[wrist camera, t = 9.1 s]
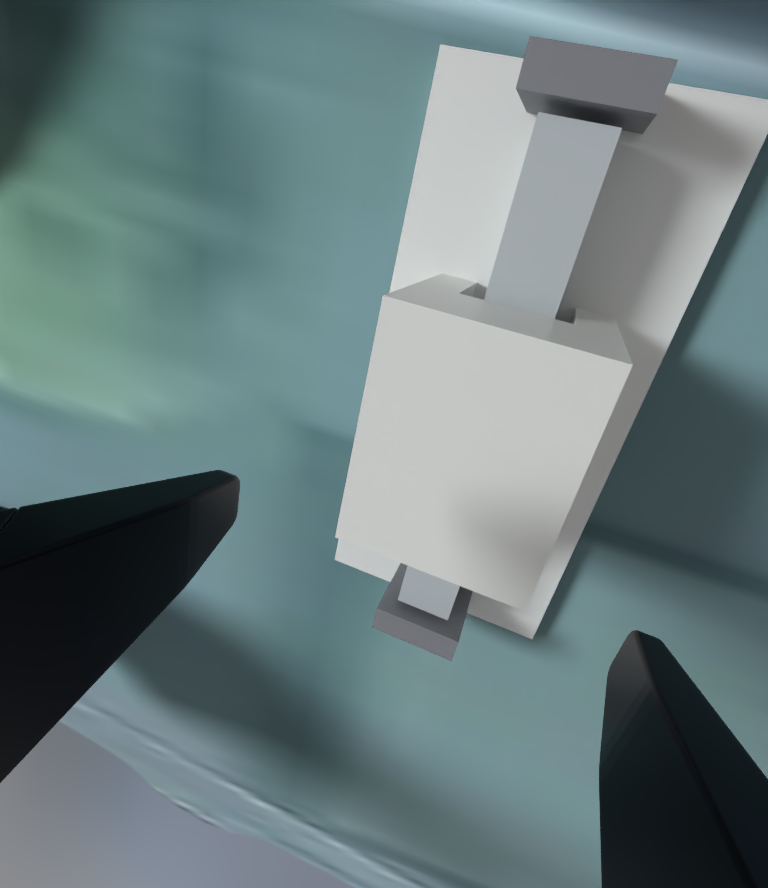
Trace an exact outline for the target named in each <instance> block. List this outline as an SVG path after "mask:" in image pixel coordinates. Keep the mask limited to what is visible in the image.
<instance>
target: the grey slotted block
mask: <svg viewBox="0 0 768 888" xmlns="http://www.w3.org/2000/svg"><path fill="white" fill-rule="evenodd" d="M476 285H477V282H474V281H470V280H466V279H462V278H458V277H455V276H451V275H447V274H443V273H441V274H439V275H436V276H433V277H431V278H428V279H425V280H423V281H420V282H417V283H415V284H412V285H409V286H407V287H404V288H401V289H399V290H396V291H393V292H391V293H388V294H385V295H383V298H382V303H381V308H380V313H379V318H378V323H377V328H376V333H375V339H374V344H373V349H372V354H371V359H370V364H369V369H368V374H367V379H366V384H365V389H364V394H363V399H362V404H361V409H360V414H359V419H358V424H357V429H356V434H355V440H354V445H353V450H352V455H351V460H350V465H349V470H348V475H347V480H346V485H345V490H344V495H343V500H342V505H341V510H340V515H339V520H338V525H337V530H336V535H335V537H336V538H339V539H341V540H344V541H346V542H349V543H351V544H354V545H356V546H359V547H362V548H364V549H367V550H369V551H372V552H374V553H377V554H379V555H382V556H385V557H387V558H390V559H392V560H395V561H397V562H400V563H402V564H405V565H408V566H410V567H413V568H415V569H418V570H420V571H423V572H425V573H428V574H431V575H433V576H436V577H438V578H441V579H443V580H446V581H448V582H451V583H454V584H456V585H459V586H461V587H464V588H466V589H469V590H471V591H474V592H476V593H479V594H482V595H484V596H487V597H489V598H492V599H494V600H497V601H499V602H502V603H505V604H507V605H510V606H512V607H515V608H517V609H520V610H522V611H525V610H526V608H527V606H528V604H529V601H530V599H531V597H532V594H533V592H534V590H535V588H536V585H537V583H538V581H539V578H540V576H541V574H542V572H543V569H544V567H545V565H546V562H547V560H548V558H549V556H550V553H551V551H552V549H553V546H554V544H555V542H556V539H557V537H558V535H559V533H560V530H561V528H562V526H563V523H564V521H565V519H566V517H567V514H568V512H569V510H570V507H571V505H572V503H573V501H574V498H575V496H576V494H577V491H578V489H579V487H580V485H581V482H582V480H583V478H584V475H585V473H586V471H587V469H588V466H589V464H590V462H591V459H592V457H593V455H594V453H595V450H596V448H597V446H598V443H599V441H600V439H601V437H602V434H603V432H604V430H605V427H606V425H607V423H608V421H609V418H610V416H611V414H612V411H613V409H614V407H615V405H616V402H617V400H618V398H619V395H620V393H621V391H622V389H623V386H624V384H625V382H626V379H627V377H628V375H629V373H630V370H631V368H632V366H633V364H632V361H631V359H630V356H629V354H628V351H627V349H626V346H625V343H624V341H623V338H622V336H621V333H620V331H619V328H618V325H617V323H616V320H615V318H611V317H607V316H603V315H599V314H596V313H592V312H588V311H584V310H580V309H577V308H576V309H575V312H574V314H573V317H572V320H571V323H567V322H564V321H560V320H556V319H552V318H549V317H545V316H541V315H538V314H534V313H530V312H526V311H523V310H519V309H515V308H512V307H508V306H504V305H500V304H497V303H493V302H489V301H485V300H482V299H478V298H474V297H473V296H474V292H475V288H476Z"/></svg>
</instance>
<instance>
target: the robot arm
mask: <svg viewBox="0 0 768 888" xmlns="http://www.w3.org/2000/svg"><path fill="white" fill-rule="evenodd" d="M239 492H240V480H239V478H238V477H237V476H235V475H233V474H230V473H227V472H225V471H222V470H215V471H209V472H204V473H199V474H193V475H188V476H183V477H177V478H172V479H167V480H161V481H156V482H151V483H145V484H140V485H135V486H129V487H124V488H119V489H113V490H108V491H103V492H97V493H92V494H87V495H81V496H76V497H71V498H65V499H60V500H55V501H49V502H44V503H39V504H33V505H28V506H23V507H20V508H19V509H16V508H11V509H6V510H3V509H1V508H0V783H1V781H2V780H3V779H4V778H5V777H6V776H7V775H8V774H9V773H10V772H11V771H12V770H13V769H14V768H15V767H16V766H17V765H18V764H19V762H20V761H21V760H22V759H23V758H24V757H25V756H26V755H27V754H28V753H29V752H30V751H31V750H32V749H33V748H34V747H35V746H36V744H37V743H38V742H39V741H40V740H41V739H42V738H43V737H44V736H45V735H46V734H47V733H48V732H49V731H50V730H51V729H52V728H53V726H54V725H55V724H56V723H57V722H58V721H59V720H60V719H61V718H62V717H63V716H64V715H65V714H66V713H67V712H68V711H69V710H70V709H71V707H72V706H73V705H74V704H75V703H76V702H77V701H78V700H79V699H80V698H81V697H82V696H83V695H84V694H85V693H86V692H87V690H88V689H89V688H90V687H91V686H92V685H93V684H94V683H95V682H96V681H97V680H98V679H99V678H100V677H101V676H102V675H103V674H104V672H105V671H106V670H107V669H108V668H109V667H110V666H111V665H112V664H113V663H114V662H115V661H116V660H117V659H118V658H119V657H120V656H121V654H122V653H123V652H124V651H125V650H126V649H127V648H128V647H129V646H130V645H131V644H132V643H133V642H134V641H135V640H136V639H137V638H138V636H139V635H140V634H141V633H142V632H143V631H144V630H145V629H146V628H147V627H148V626H149V625H150V624H151V623H152V622H153V621H154V620H155V618H156V617H157V616H158V615H159V614H160V613H161V612H162V611H163V610H164V609H165V608H166V607H167V606H168V605H169V604H170V603H171V602H172V600H173V599H174V598H175V597H176V596H177V595H178V594H179V593H180V592H181V591H182V590H183V589H184V587H185V586H186V585H187V584H188V583H189V582H190V580H191V579H192V578H193V577H194V575H195V574H196V573H197V571H198V570H199V569H200V567H201V566H202V565H203V563H204V562H205V561H206V559H207V558H208V557H209V556H210V554H211V553H212V552H213V550H214V549H215V548H216V546H217V545H218V544H219V542H220V541H221V540H222V538H223V537H224V536H225V534H226V533H227V532H228V530H229V529H230V528H231V526H232V525H233V523H234V522H235V519H236V517H237V512H238V502H239ZM599 799H600V836H601V873H602V888H768V779H767V778H766V776H765V775H764V774H763V772H762V771H761V770H760V768H759V767H758V766H757V764H756V763H755V762H754V761H753V759H752V758H751V757H750V755H749V754H748V753H747V751H746V750H745V749H744V747H743V746H742V745H741V744H740V742H739V741H738V740H737V738H736V737H735V736H734V734H733V733H732V732H731V731H730V729H729V728H728V727H727V725H726V724H725V723H724V721H723V720H722V719H721V717H720V716H719V715H718V714H717V712H716V711H715V710H714V708H713V707H712V706H711V704H710V703H709V702H708V701H707V699H706V698H705V697H704V695H703V694H702V693H701V691H700V690H699V689H698V687H697V686H696V685H695V684H694V682H693V681H692V680H691V678H690V677H689V676H688V674H687V673H686V672H685V671H684V669H683V668H682V667H681V665H680V664H679V663H678V661H677V660H676V659H675V657H674V656H673V655H672V654H671V652H670V651H669V650H668V648H667V647H666V646H665V644H664V643H663V642H662V641H661V640H660V639H658V638H656V637H653V636H651V635H648V634H645V633H643V632H640V631H637V630H635V631H632V632H631V633H630V634H629V635H628V636H627V638H626V640H625V641H624V643H623V645H622V646H621V648H620V650H619V652H618V653H617V655H616V657H615V659H614V660H613V662H612V664H611V666H610V669H609V672H608V677H607V686H606V697H605V707H604V718H603V729H602V740H601V751H600V764H599Z"/></svg>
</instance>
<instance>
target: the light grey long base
mask: <svg viewBox="0 0 768 888" xmlns="http://www.w3.org/2000/svg"><path fill="white" fill-rule="evenodd" d="M676 63H677V60H676V59H670V58H664V57H657V56H651V55H645V54H639V53H632V52H626V51H620V50H613V49H607V48H601V47H595V46H588V45H582V44H576V43H570V42H563V41H557V40H551V39H544V38H538V37H532V36H530V37H529V41H528V44H527V48H526V52H525V55H524V58H518V57H512V56H506V55H500V54H494V53H488V52H482V51H476V50H470V49H465V48H459V47H453V46H447V45H441V44H440V49H439V54H438V59H437V64H436V69H435V73H434V78H433V83H432V88H431V93H430V98H429V103H428V108H427V112H426V117H425V122H424V127H423V132H422V137H421V142H420V146H419V151H418V156H417V161H416V166H415V171H414V176H413V181H412V185H411V190H410V195H409V200H408V205H407V210H406V215H405V219H404V224H403V229H402V234H401V239H400V244H399V249H398V254H397V258H396V263H395V268H394V273H393V278H392V283H391V288H390V292H389V293H391V292H393V291H396V290H399V289H401V288H404V287H407V286H409V285H412V284H415V283H417V282H420V281H423V280H425V279H428V278H431V277H433V276H436V275H439V274H441V273H443V274H447V275H451V276H455V277H458V278H462V279H466V280H470V281H474V282H477V285H476V288H475V292H474V296H473V297H474V298H478V299H482V300H485V301H489V302H493V303H497V304H500V305H504V306H508V307H512V308H515V309H519V310H523V311H526V312H530V313H534V314H538V315H541V316H545V317H549V318H552V319H556V320H560V321H564V322H567V323H571V320H572V317H573V314H574V312H575V309H576V308H577V309H580V310H584V311H588V312H592V313H596V314H599V315H603V316H607V317H611V318H615V320H616V323H617V325H618V328H619V331H620V333H621V336H622V338H623V341H624V343H625V346H626V349H627V351H628V354H629V356H630V359H631V361H632V364H633V366H632V368H631V370H630V373H629V375H628V377H627V379H626V382H625V384H624V386H623V389H622V391H621V393H620V395H619V398H618V400H617V402H616V405H615V407H614V409H613V411H612V414H611V416H610V418H609V421H608V423H607V425H606V427H605V430H604V432H603V434H602V437H601V439H600V441H599V443H598V446H597V448H596V450H595V453H594V455H593V457H592V459H591V462H590V464H589V466H588V469H587V471H586V473H585V475H584V478H583V480H582V482H581V485H580V487H579V489H578V491H577V494H576V496H575V498H574V501H573V503H572V505H571V507H570V510H569V512H568V514H567V517H566V519H565V521H564V523H563V526H562V528H561V530H560V533H559V535H558V537H557V539H556V542H555V544H554V546H553V549H552V551H551V553H550V556H549V558H548V560H547V562H546V565H545V567H544V569H543V572H542V574H541V576H540V578H539V581H538V583H537V585H536V588H535V590H534V592H533V594H532V597H531V599H530V601H529V604H528V606H527V608H526V610H525V611H522V610H520V609H517V608H515V607H512V606H510V605H507V604H505V603H502V602H499V601H497V600H494V599H492V598H489V597H487V596H484V595H482V594H479V593H476V592H474V591H471V590H469V589H466V588H464V587H461V586H459V585H456V584H454V583H451V582H448V581H446V580H443V579H441V578H438V577H436V576H433V575H431V574H428V573H425V572H423V571H420V570H418V569H415V568H413V567H410V566H408V565H405V564H402V563H400V562H397V561H395V560H392V559H390V558H387V557H385V556H382V555H379V554H377V553H374V552H372V551H369V550H367V549H364V548H362V547H359V546H356V545H354V544H351V543H349V542H346V541H344V540H341V539H339V541H338V546H337V550H336V555H335V560H337V561H339V562H342V563H344V564H347V565H349V566H352V567H354V568H357V569H359V570H362V571H364V572H366V573H369V574H371V575H374V576H376V577H379V578H381V579H384V580H386V581H389V582H390V584H389V586H388V588H387V590H386V592H385V594H384V596H383V598H382V600H381V602H380V603H379V605H378V607H377V610H376V614H375V618H374V622H373V625H372V627H373V628H375V629H377V630H380V631H382V632H384V633H387V634H389V635H392V636H394V637H396V638H399V639H401V640H403V641H406V642H408V643H410V644H413V645H415V646H417V647H420V648H422V649H424V650H427V651H429V652H431V653H434V654H436V655H438V656H441V657H443V658H445V659H448V660H450V661H451V660H452V658H453V655H454V652H455V650H456V647H457V644H458V642H459V638H460V634H461V631H462V627H463V624H464V620H465V617H466V613H468V614H470V615H473V616H475V617H478V618H480V619H483V620H485V621H488V622H490V623H493V624H495V625H498V626H500V627H503V628H505V629H508V630H510V631H513V632H515V633H517V634H520V635H522V636H525V637H527V638H530V639H533V637H534V635H535V633H536V631H537V628H538V626H539V624H540V622H541V620H542V618H543V616H544V613H545V611H546V609H547V607H548V605H549V603H550V600H551V598H552V596H553V594H554V592H555V590H556V588H557V585H558V583H559V581H560V579H561V577H562V575H563V573H564V570H565V568H566V566H567V564H568V562H569V560H570V558H571V555H572V553H573V551H574V549H575V547H576V545H577V542H578V540H579V538H580V536H581V534H582V532H583V530H584V527H585V525H586V523H587V521H588V519H589V517H590V515H591V512H592V510H593V508H594V506H595V504H596V502H597V499H598V497H599V495H600V493H601V491H602V489H603V487H604V484H605V482H606V480H607V478H608V476H609V474H610V472H611V469H612V467H613V465H614V463H615V461H616V459H617V456H618V454H619V452H620V450H621V448H622V446H623V444H624V441H625V439H626V437H627V435H628V433H629V431H630V429H631V426H632V424H633V422H634V420H635V418H636V416H637V414H638V411H639V409H640V407H641V405H642V403H643V401H644V398H645V396H646V394H647V392H648V390H649V388H650V386H651V383H652V381H653V379H654V377H655V375H656V373H657V371H658V368H659V366H660V364H661V362H662V360H663V358H664V355H665V353H666V351H667V349H668V347H669V345H670V343H671V340H672V338H673V336H674V334H675V332H676V330H677V328H678V325H679V323H680V321H681V319H682V317H683V315H684V312H685V310H686V308H687V306H688V304H689V302H690V300H691V297H692V295H693V293H694V291H695V289H696V287H697V285H698V282H699V280H700V278H701V276H702V274H703V272H704V269H705V267H706V265H707V263H708V261H709V259H710V257H711V254H712V252H713V250H714V248H715V246H716V244H717V242H718V239H719V237H720V235H721V233H722V231H723V229H724V227H725V224H726V222H727V220H728V218H729V216H730V214H731V211H732V209H733V207H734V205H735V203H736V201H737V199H738V196H739V194H740V192H741V190H742V188H743V186H744V184H745V181H746V179H747V177H748V175H749V173H750V171H751V168H752V166H753V164H754V162H755V160H756V158H757V156H758V153H759V151H760V149H761V147H762V145H763V143H764V141H765V138H766V136H767V134H768V100H767V99H761V98H755V97H749V96H743V95H737V94H731V93H725V92H719V91H713V90H707V89H701V88H696V87H690V86H684V85H678V84H672V83H669V81H670V79H671V76H672V73H673V71H674V68H675V66H676Z"/></svg>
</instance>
